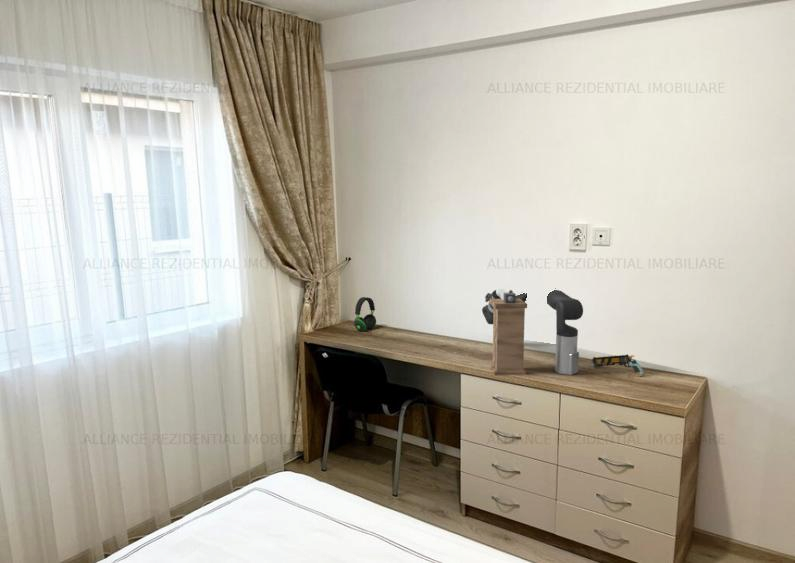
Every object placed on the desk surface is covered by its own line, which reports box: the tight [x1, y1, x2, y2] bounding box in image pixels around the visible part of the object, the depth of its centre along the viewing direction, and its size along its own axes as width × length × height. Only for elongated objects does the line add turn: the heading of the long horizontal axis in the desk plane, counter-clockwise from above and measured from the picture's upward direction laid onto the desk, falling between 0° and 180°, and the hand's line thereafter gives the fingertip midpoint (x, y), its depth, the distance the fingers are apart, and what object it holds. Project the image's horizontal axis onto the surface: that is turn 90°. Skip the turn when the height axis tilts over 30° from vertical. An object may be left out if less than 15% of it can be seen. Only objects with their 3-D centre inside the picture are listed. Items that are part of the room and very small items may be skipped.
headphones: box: [353, 296, 377, 332], centre depth 335 cm, size 9×16×20 cm, turn 145°
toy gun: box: [592, 354, 645, 377], centre depth 253 cm, size 3×22×10 cm, turn 46°
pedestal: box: [488, 298, 528, 376], centre depth 254 cm, size 15×14×32 cm
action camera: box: [496, 288, 517, 303], centre depth 257 cm, size 22×4×4 cm, turn 2°
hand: (503, 292), depth 261 cm, fingers open, 7 cm apart
